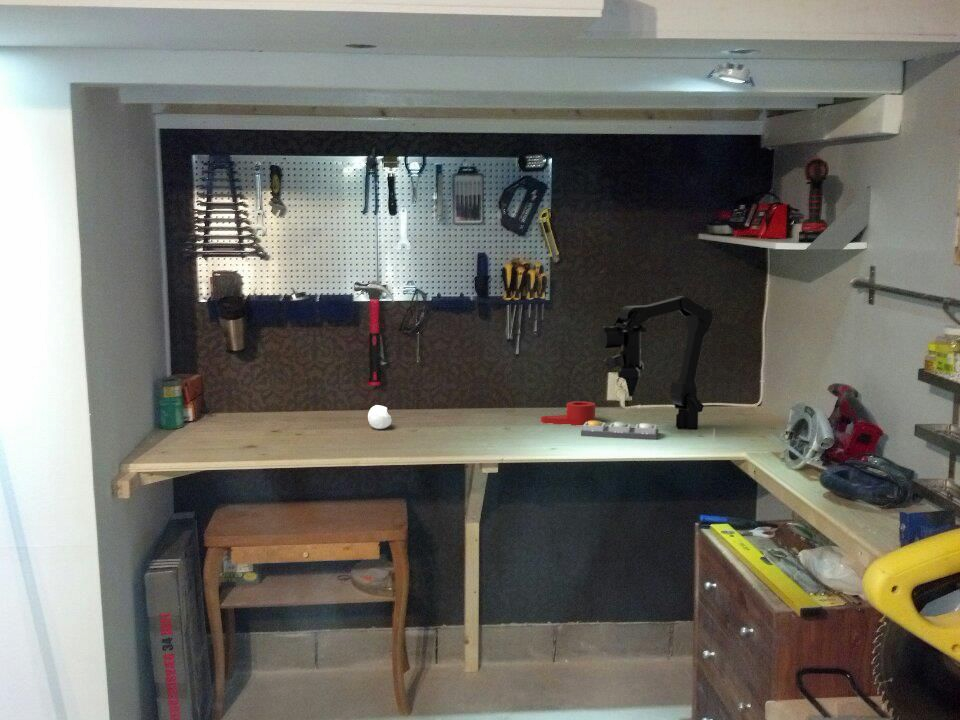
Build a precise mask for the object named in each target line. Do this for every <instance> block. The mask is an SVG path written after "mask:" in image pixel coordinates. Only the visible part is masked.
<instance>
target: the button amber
mask: <svg viewBox="0 0 960 720" xmlns="http://www.w3.org/2000/svg"><path fill="white" fill-rule="evenodd" d="M588 425H593V426H601V420H596V419H595V420H591V421H588Z"/></svg>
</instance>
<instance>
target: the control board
mask: <svg viewBox="0 0 960 720" xmlns="http://www.w3.org/2000/svg"><path fill="white" fill-rule="evenodd" d="M639 424H640V423H637V424H636V425H635V427H632V424H631V423H627V424H626V427H613V425H614V422H611V423H610V424H609V426H606V422H603V421H602V422H601V426H593V425H588V422H585V424H584V425H583V426H582V429H581V430H580V436H581V437H582V436H583V437H598V438H614V439H615V438H617V439H635V440H650V441H652V440H655V441H656V440H657V438H658V436H659V428H658V424H653V428H639Z"/></svg>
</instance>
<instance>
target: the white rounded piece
mask: <svg viewBox="0 0 960 720" xmlns="http://www.w3.org/2000/svg"><path fill="white" fill-rule="evenodd" d="M367 420H368V423H369V425H370V426H371V427H372V428H373V429H377V430H385V429H386V428H388V427H390V425H391V423H392V416H391V415H390V414H389V412H388V407H387V406H384V405H379V404H375V405H374V406H372V407H371V408H370V409H369V411H368V412H367Z"/></svg>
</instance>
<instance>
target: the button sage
mask: <svg viewBox="0 0 960 720" xmlns="http://www.w3.org/2000/svg"><path fill="white" fill-rule="evenodd" d="M613 423H614V425H613V427H626V424H628V423H627V422H625V421H614V422H613Z"/></svg>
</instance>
